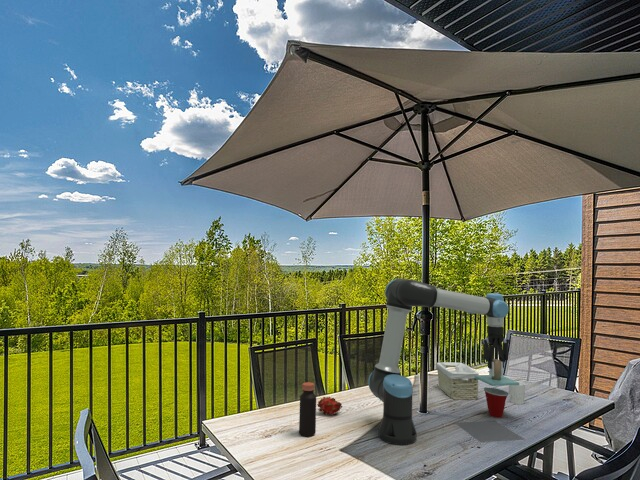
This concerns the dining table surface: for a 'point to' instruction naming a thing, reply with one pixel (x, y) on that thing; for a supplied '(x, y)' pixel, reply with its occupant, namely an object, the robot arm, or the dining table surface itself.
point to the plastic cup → (495, 401)
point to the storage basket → (458, 380)
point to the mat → (489, 431)
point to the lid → (496, 377)
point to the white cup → (517, 393)
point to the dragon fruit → (329, 405)
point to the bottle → (307, 411)
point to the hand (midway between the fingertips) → (496, 375)
